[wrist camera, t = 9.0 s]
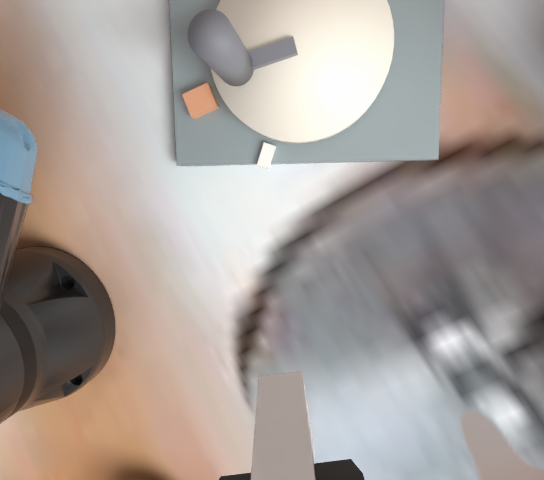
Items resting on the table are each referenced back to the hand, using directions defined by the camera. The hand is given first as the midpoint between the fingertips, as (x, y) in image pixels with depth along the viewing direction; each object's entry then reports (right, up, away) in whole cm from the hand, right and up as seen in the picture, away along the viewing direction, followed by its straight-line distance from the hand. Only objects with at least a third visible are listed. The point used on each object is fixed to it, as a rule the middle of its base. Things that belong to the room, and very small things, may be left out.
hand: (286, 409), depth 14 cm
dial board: (+2, +21, +20) cm, 29 cm away
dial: (+2, +21, +18) cm, 28 cm away
